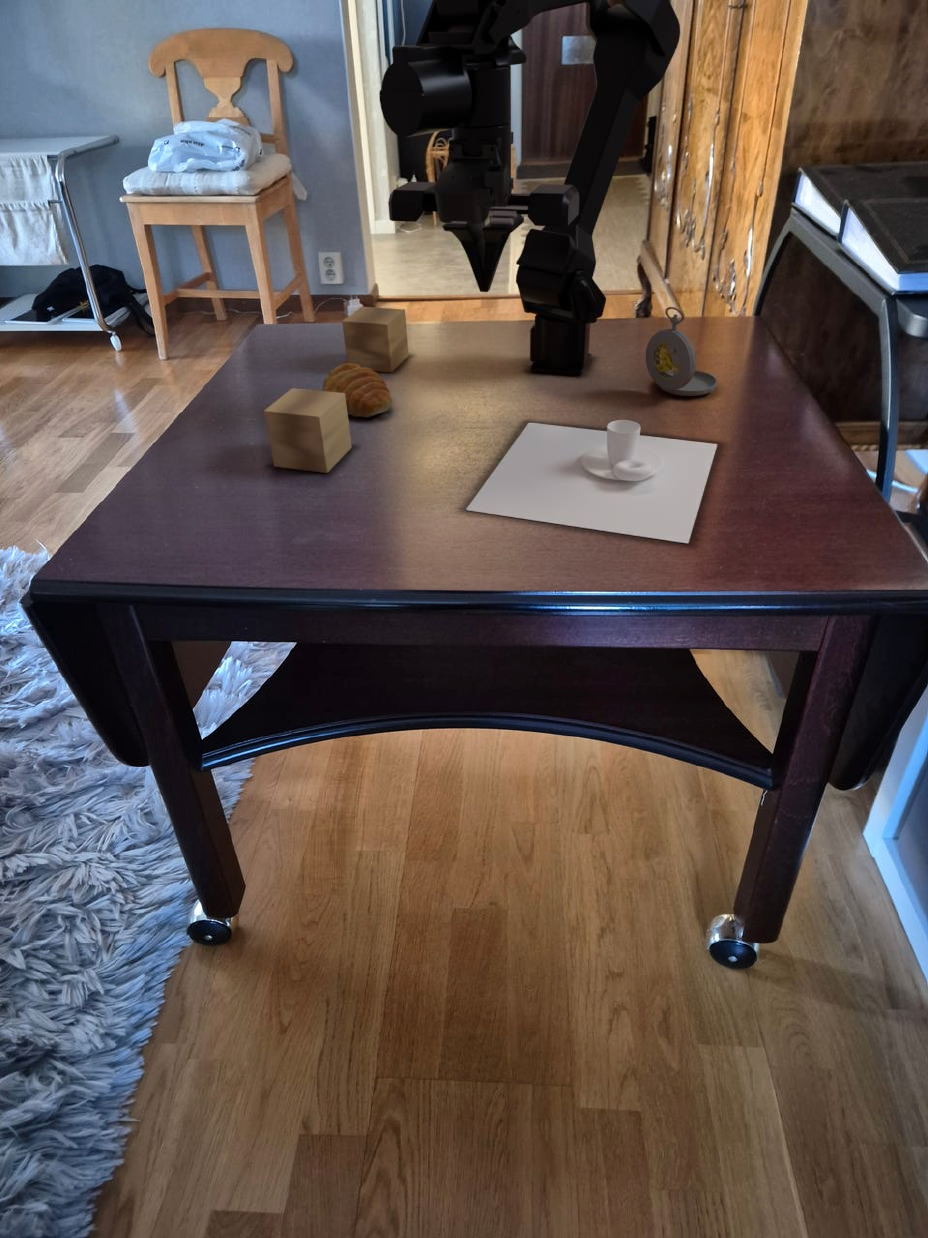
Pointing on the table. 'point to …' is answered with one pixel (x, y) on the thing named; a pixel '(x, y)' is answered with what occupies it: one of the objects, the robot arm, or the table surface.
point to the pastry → (359, 389)
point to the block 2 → (376, 338)
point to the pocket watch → (676, 362)
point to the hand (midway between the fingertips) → (485, 291)
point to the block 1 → (308, 429)
